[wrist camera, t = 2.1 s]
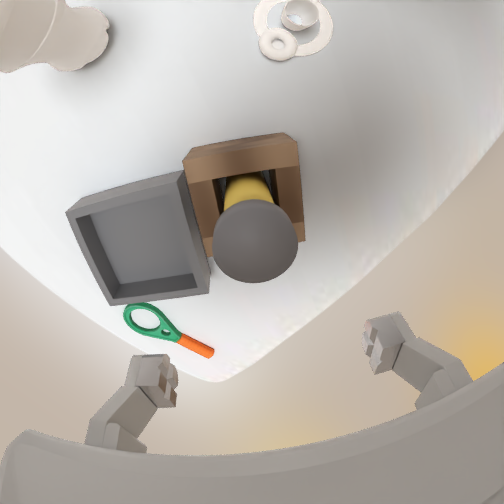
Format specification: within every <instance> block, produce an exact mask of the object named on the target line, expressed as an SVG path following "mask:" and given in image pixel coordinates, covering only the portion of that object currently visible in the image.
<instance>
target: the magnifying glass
mask: <svg viewBox="0 0 504 504" xmlns="http://www.w3.org/2000/svg"><path fill="white" fill-rule="evenodd" d="M135 309H146V310H149V311H151V312H153V313H154V314H155V315H156V316H157V317H158V318H159V320H160V325H159V326H158V327H157V328H154V329H146V328H143V327H140V326H138V325H137V324H136V323H135V322H134V321H133V320H132V318H131V311H133V310H135ZM123 317H124V320H125V322H126V324H127V325H128V326H129V327H130V328H131V329H133V330H134V331H135V332H137V333H139V334H142V335H145V336H149V337H154V338H159V339H163V340H168V341H172V342H176V343H178V344H180V345H182V346H184V347H186V348H188V349H190V350H192V351H194V352H196V353H198V354H200V355H202V356H204V357H206V358H208V359H209V358H210V357H212V356H213V354H214V349H212V348H210V347H208V346H206V345H204V344H202V343H200V342H198V341H196V340H194V339H192V338H191V337H189V336H187V335H185V334H183V333H181V332H179V331H178V330H177V329H176V328H175V327H174V325H173V324H172V323H171V322H170V321H169V320H168V319H167V317H166V316H165V315H164V314H163V313H162V312H161V311H160V310H159V309H158V308H156V307H155V306H153V305H151V304H148V303H145V302H141V303H133V304H128V305H127V306H126V308H125V310H124V313H123ZM163 329H166V330H169V331H170V332H164V331H163Z"/></svg>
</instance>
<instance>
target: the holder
mask: <svg viewBox="0 0 504 504" xmlns="http://www.w3.org/2000/svg"><path fill="white" fill-rule="evenodd" d="M182 162H183V166H184V171H185V175H186V179H187V183H188V187H189V191H190V195H191V199H192V203H193V207H194V211H195V214H196V218H197V222H198V226H199V230H200V233H201V237H202V241H203V244H204V248H205V251H206V255H207V257H212V256H213V252H212V243H213V234H214V228H215V225H216V222H217V220H218V219H219V217H220V216H221V214H222V213H223V212H224V201H223V196H222V192H221V187H220V182H219V178H221V177H227V176H232V175H238V174H244V173H250V172H256V171H263V170H269V175H270V182H271V190H272V197H273V202H274V204H276V205H277V206H279V207H280V208H281V209H283V210H284V212H285V213H286V214H287V215H288V217H289V218H290V221H291V223H292V225H293V227H294V229H295V232H296V235H297V239H298V242H302V241H305V228H304V214H303V201H302V189H301V178H300V168H299V158H298V148H297V142H296V141H295V140H293V139H292V138H291V137H289V136H288V135H286V134H285V133H276V134H268V135H261V136H254V137H248V138H242V139H236V140H230V141H224V142H219V143H214V144H209V145H204V146H199V147H195V148H192V149H191V150H190V152H189V153H188V154H187V156H186V157H185V158H184V160H183V161H182Z"/></svg>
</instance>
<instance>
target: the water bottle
mask: <svg viewBox="0 0 504 504" xmlns="http://www.w3.org/2000/svg"><path fill="white" fill-rule="evenodd" d="M107 29H109V22H108V20H107V18H106V17H105V15H104V14H103V13H102V12H100V11H99V10H98V9H96V8H93V7H86V6H85V7H75V8H70V7H69V6H68V5H67V4H66V2H65V0H0V72H3V73H10V72H13V71H15V70H17V69H19V68H22V67H25V66H27V65H30V64H35V63H48V64H49V65H50V66H51V67H52V68H54V69H56V70H58V71H74V70H78V69H80V68H82V67H84V66H85V65H86V64H87V63H89V62H92V61H93V60H95V59H96V58H98V57H99V56H100V55H101V54H102V53H103V51H104V50H105V48H106V46H107V44H108V34H107V32H106V30H107Z"/></svg>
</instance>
